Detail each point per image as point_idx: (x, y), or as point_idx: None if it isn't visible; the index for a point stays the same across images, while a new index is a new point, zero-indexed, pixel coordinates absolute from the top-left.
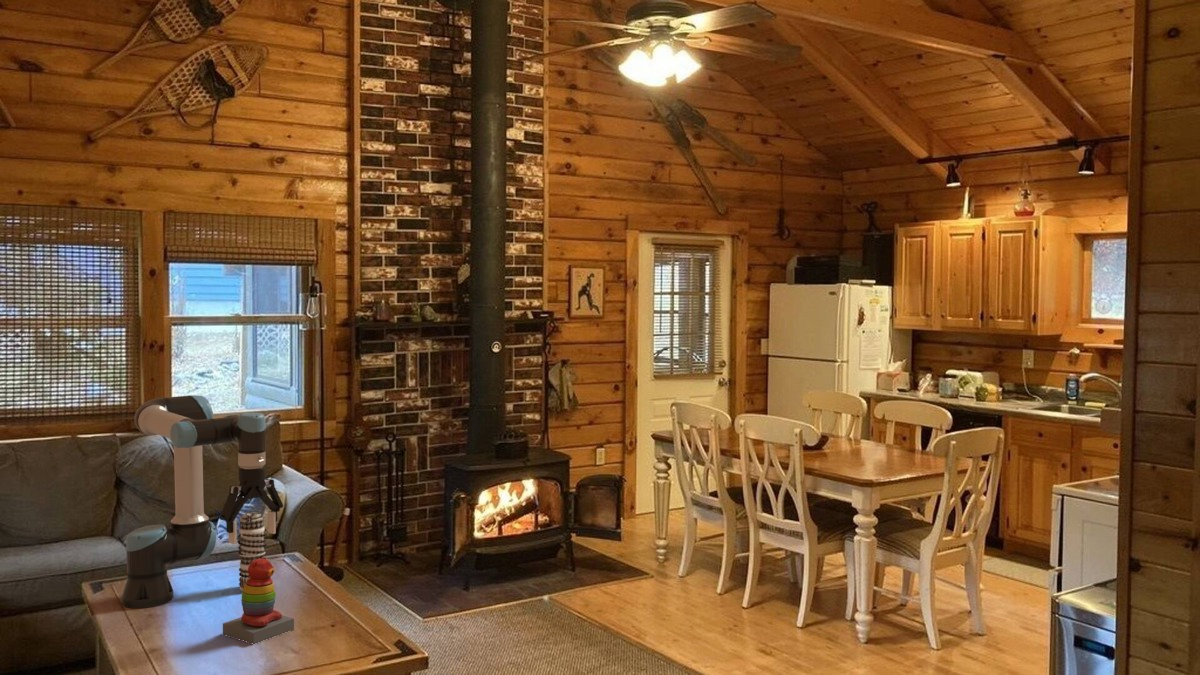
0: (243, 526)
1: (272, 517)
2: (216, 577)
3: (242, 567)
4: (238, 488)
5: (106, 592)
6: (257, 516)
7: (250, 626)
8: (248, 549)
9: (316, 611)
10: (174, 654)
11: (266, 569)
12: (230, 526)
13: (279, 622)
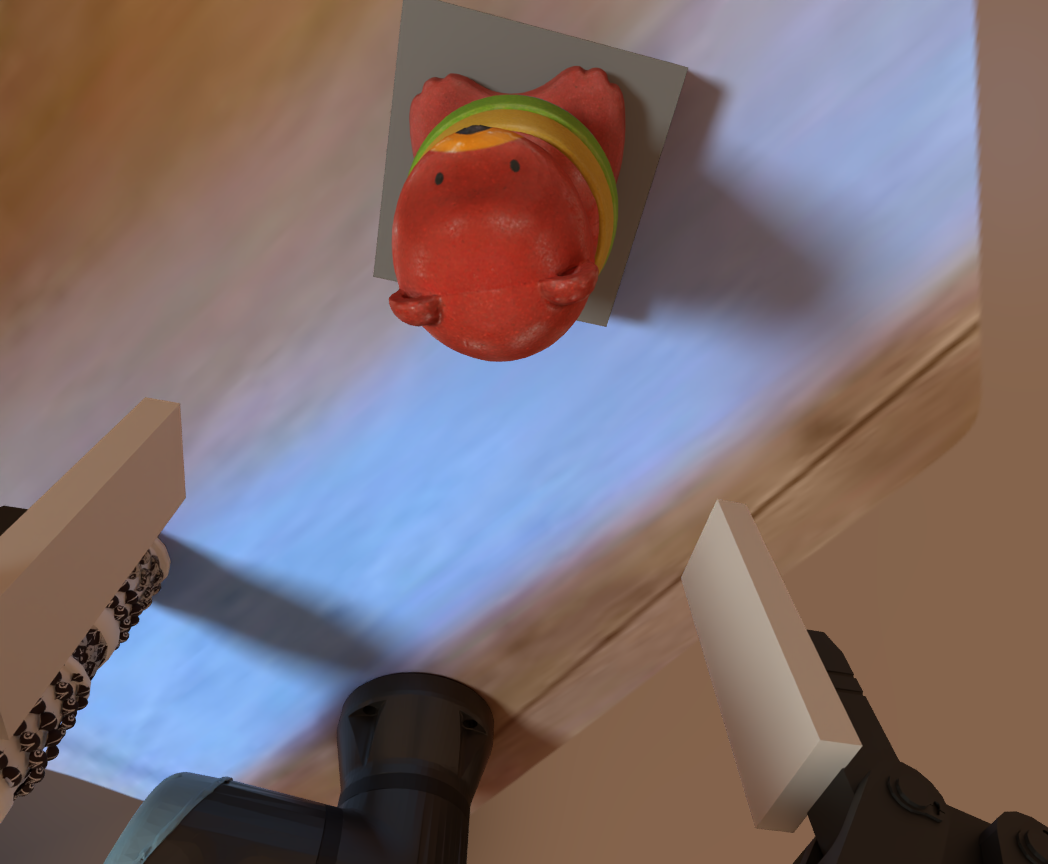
0: None
1: (48, 570)
2: (133, 702)
3: (116, 637)
4: None
5: None
6: None
7: None
8: (45, 691)
9: (126, 82)
10: (854, 330)
11: (531, 162)
12: (860, 710)
13: (494, 37)
